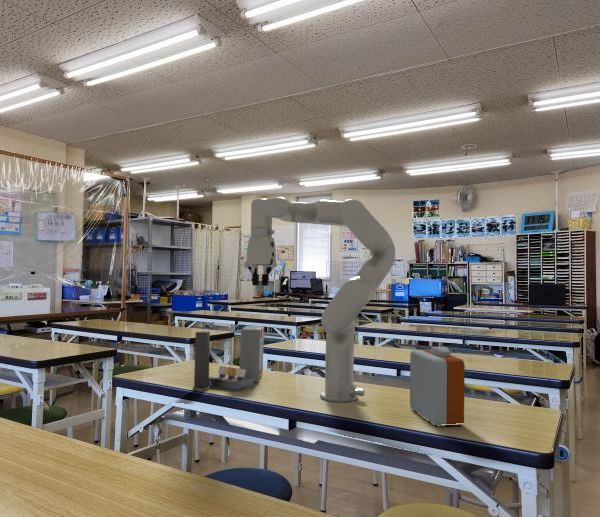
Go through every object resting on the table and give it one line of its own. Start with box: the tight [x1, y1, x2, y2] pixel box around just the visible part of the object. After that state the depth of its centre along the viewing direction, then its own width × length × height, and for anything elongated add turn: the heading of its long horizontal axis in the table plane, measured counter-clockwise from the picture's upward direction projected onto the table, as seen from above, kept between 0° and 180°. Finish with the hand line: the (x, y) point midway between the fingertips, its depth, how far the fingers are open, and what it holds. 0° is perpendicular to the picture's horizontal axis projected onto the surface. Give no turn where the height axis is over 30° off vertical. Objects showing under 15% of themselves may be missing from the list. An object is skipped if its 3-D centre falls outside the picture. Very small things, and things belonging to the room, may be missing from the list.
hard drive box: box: [239, 325, 265, 383], centre depth 184 cm, size 16×8×20 cm, turn 179°
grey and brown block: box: [409, 346, 466, 425], centre depth 137 cm, size 18×9×21 cm, turn 9°
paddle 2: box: [227, 366, 237, 378], centre depth 170 cm, size 2×3×4 cm, turn 152°
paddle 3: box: [217, 365, 229, 376], centre depth 172 cm, size 2×3×4 cm, turn 152°
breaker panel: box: [209, 374, 254, 392], centre depth 170 cm, size 14×9×3 cm, turn 62°
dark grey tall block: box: [192, 331, 211, 392], centre depth 165 cm, size 6×6×20 cm
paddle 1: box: [236, 367, 246, 379], centre depth 168 cm, size 2×3×4 cm, turn 151°
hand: (260, 284), depth 165 cm, fingers open, 3 cm apart
